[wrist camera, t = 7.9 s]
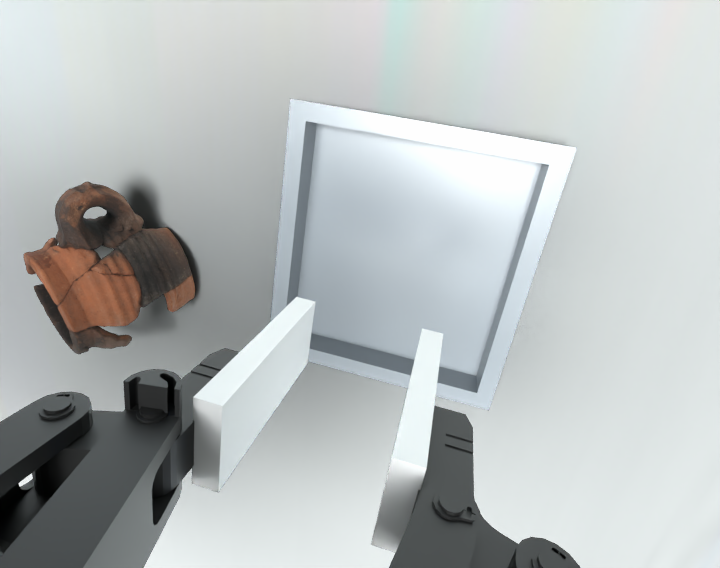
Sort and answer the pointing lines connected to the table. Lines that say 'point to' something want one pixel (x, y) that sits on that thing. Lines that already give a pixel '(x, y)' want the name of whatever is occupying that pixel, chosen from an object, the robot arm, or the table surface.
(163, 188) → the table surface
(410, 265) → the tray
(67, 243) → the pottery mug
